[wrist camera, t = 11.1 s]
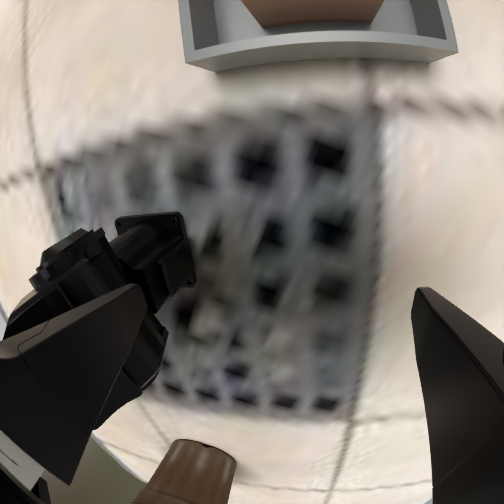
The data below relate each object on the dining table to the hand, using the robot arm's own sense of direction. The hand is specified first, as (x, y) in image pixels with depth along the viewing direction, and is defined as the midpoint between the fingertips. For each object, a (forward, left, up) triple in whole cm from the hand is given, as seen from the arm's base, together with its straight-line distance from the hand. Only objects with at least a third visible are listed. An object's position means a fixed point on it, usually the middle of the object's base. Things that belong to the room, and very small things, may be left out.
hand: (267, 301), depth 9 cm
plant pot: (-18, -45, -12) cm, 50 cm away
